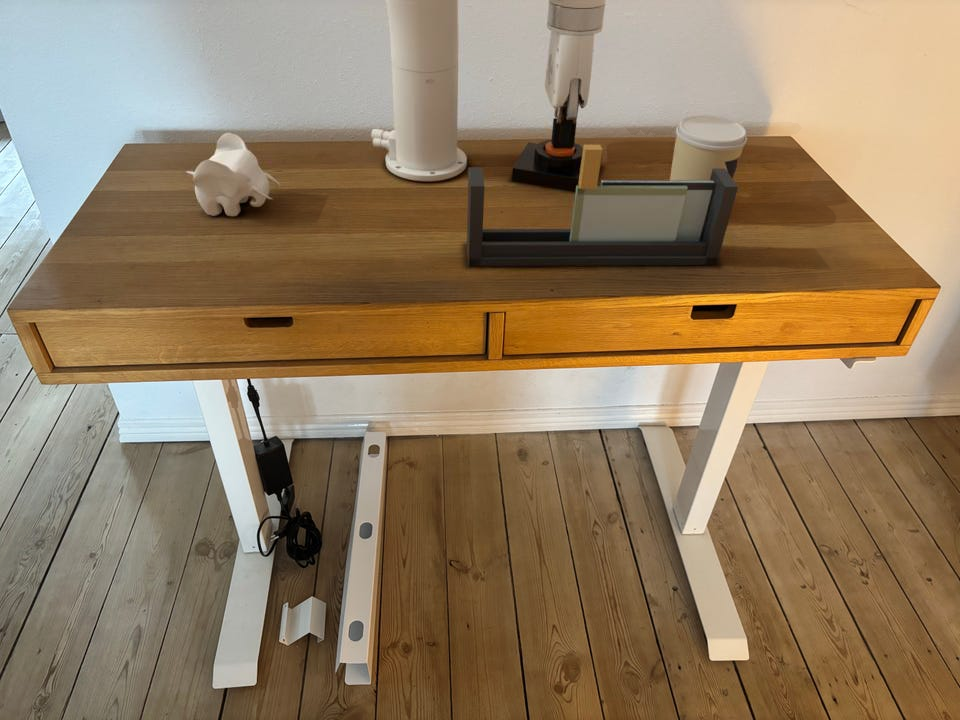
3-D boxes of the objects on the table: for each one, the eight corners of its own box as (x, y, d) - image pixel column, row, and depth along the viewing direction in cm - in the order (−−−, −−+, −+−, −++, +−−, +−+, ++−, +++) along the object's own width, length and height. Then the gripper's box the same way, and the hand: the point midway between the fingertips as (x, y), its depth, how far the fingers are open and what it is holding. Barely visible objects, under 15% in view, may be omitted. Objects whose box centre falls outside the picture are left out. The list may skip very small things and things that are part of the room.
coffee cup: (728, 227, 102) (751, 145, 94) (660, 219, 103) (677, 137, 96) (724, 197, 109) (746, 118, 101) (661, 189, 110) (677, 111, 103)
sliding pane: (569, 250, 93) (582, 149, 84) (568, 244, 94) (581, 144, 85) (674, 250, 94) (698, 150, 85) (671, 244, 95) (694, 145, 86)
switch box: (511, 181, 111) (513, 156, 108) (527, 155, 118) (528, 131, 116) (589, 194, 108) (593, 169, 106) (600, 166, 116) (604, 142, 113)
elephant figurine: (271, 226, 98) (260, 164, 92) (182, 221, 98) (166, 159, 92) (288, 193, 105) (280, 133, 100) (205, 189, 105) (192, 129, 100)
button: (541, 160, 110) (542, 149, 109) (547, 149, 114) (549, 138, 112) (570, 165, 109) (571, 154, 108) (575, 153, 113) (577, 142, 112)
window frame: (468, 266, 92) (470, 186, 85) (466, 245, 96) (468, 167, 89) (716, 265, 94) (738, 186, 87) (704, 245, 98) (725, 168, 91)
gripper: (540, 1, 104) (531, 126, 116) (555, 32, 93) (544, 168, 104) (592, 1, 105) (578, 126, 116) (614, 33, 93) (596, 168, 105)
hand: (562, 146), depth 110 cm, fingers closed
